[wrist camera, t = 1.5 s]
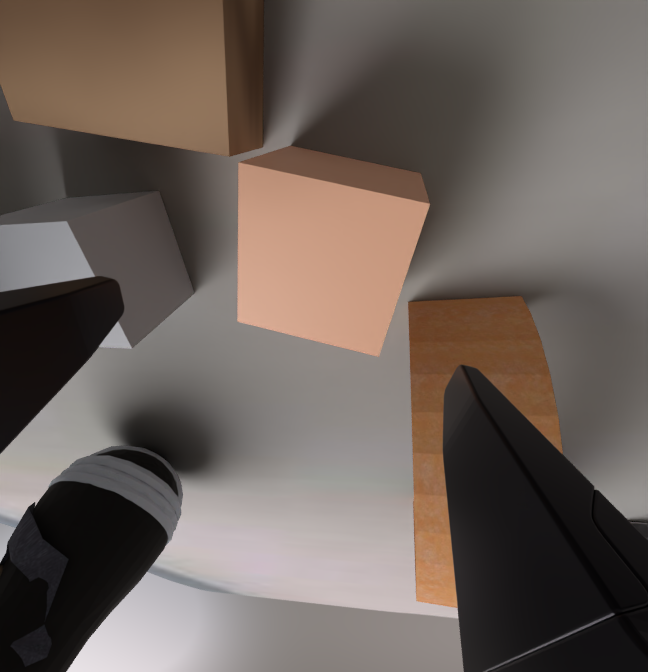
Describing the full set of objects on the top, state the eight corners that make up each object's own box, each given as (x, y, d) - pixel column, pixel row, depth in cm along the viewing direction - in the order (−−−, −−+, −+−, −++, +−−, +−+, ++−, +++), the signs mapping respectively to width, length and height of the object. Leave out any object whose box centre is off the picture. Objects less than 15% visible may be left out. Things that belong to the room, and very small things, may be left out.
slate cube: (195, 292, 21) (132, 348, 16) (114, 292, 22) (33, 344, 17) (160, 190, 17) (66, 221, 13) (67, 197, 19) (-50, 228, 14)
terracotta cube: (384, 290, 18) (378, 356, 13) (280, 266, 19) (237, 321, 14) (420, 172, 15) (430, 203, 10) (290, 145, 15) (238, 162, 10)
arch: (410, 501, 29) (414, 653, 21) (408, 299, 18) (413, 449, 10) (482, 508, 28) (516, 674, 19) (524, 294, 17) (638, 464, 9)
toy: (114, 398, 29) (-263, 777, 12) (221, 458, 31) (18, 851, 14) (95, 452, 35) (-176, 753, 18) (186, 498, 37) (14, 808, 20)
